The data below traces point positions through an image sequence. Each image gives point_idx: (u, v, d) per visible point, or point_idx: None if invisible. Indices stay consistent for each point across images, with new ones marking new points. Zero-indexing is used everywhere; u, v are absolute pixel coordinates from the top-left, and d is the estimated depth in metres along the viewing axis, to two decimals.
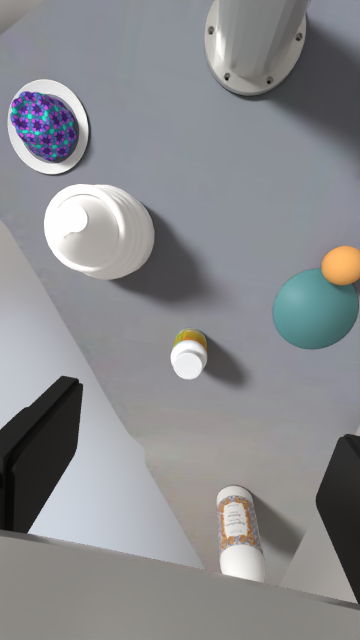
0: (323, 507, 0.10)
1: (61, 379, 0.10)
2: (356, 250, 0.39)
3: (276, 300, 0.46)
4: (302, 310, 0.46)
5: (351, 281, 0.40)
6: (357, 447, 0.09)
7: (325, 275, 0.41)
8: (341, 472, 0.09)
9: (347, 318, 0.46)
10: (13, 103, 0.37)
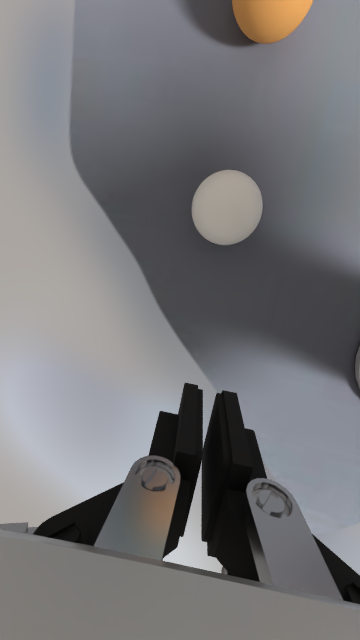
0: (203, 456, 0.11)
1: (187, 386, 0.11)
2: (266, 12, 0.18)
3: None
4: None
5: None
6: (225, 400, 0.10)
7: None
8: (212, 422, 0.11)
9: None
10: None
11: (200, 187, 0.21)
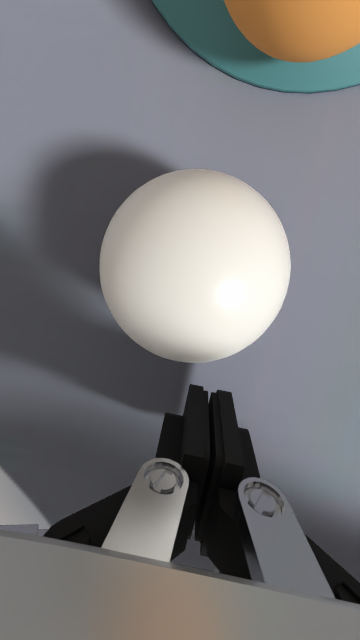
0: None
1: (192, 387, 0.11)
2: None
3: None
4: None
5: None
6: (220, 400, 0.10)
7: None
8: None
9: None
10: None
11: None
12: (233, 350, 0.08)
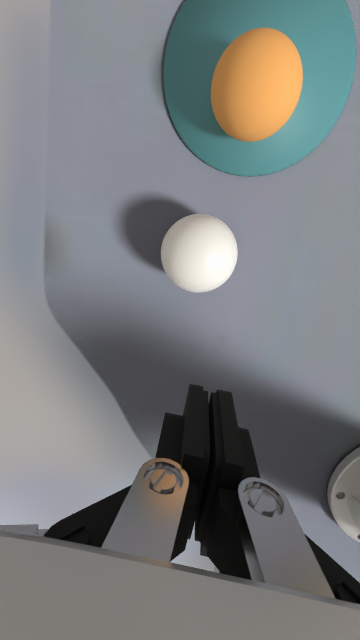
0: None
1: (192, 387, 0.11)
2: (266, 29, 0.16)
3: (349, 84, 0.20)
4: None
5: None
6: (220, 400, 0.10)
7: None
8: None
9: (180, 64, 0.20)
10: None
11: None
12: (214, 283, 0.20)
